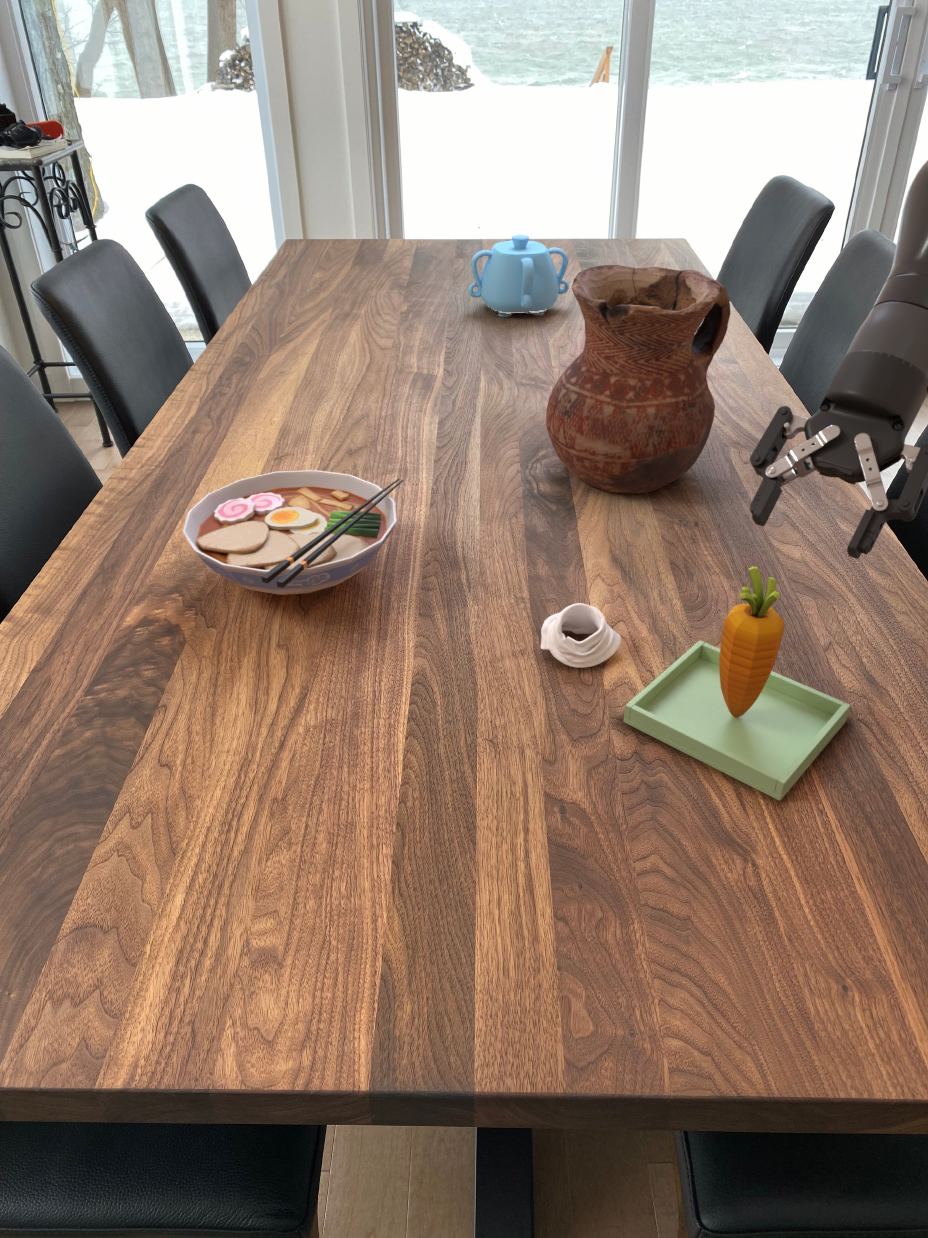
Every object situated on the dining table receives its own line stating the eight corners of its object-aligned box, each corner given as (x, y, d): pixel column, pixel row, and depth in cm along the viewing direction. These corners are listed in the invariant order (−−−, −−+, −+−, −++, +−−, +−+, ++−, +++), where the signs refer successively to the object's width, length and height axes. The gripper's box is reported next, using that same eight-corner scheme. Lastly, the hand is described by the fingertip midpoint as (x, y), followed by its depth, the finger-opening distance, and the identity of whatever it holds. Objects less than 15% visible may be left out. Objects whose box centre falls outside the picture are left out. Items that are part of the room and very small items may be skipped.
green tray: (846, 722, 88) (850, 704, 87) (779, 801, 80) (784, 783, 79) (696, 656, 96) (699, 639, 95) (623, 722, 88) (625, 705, 87)
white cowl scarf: (615, 639, 100) (623, 597, 98) (621, 674, 94) (629, 630, 92) (538, 631, 100) (543, 589, 98) (539, 666, 94) (545, 622, 92)
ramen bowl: (281, 505, 122) (274, 445, 118) (441, 548, 114) (440, 484, 109) (141, 602, 104) (126, 535, 99) (318, 662, 95) (311, 591, 91)
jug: (639, 526, 118) (663, 319, 104) (510, 473, 130) (516, 281, 116) (736, 468, 131) (769, 278, 117) (610, 425, 143) (626, 247, 129)
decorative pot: (577, 309, 190) (582, 235, 182) (522, 327, 180) (525, 251, 172) (514, 292, 199) (517, 222, 191) (459, 309, 189) (459, 235, 182)
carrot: (766, 737, 85) (799, 593, 77) (708, 731, 86) (735, 588, 78) (761, 702, 90) (792, 561, 81) (706, 696, 90) (731, 556, 82)
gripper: (801, 330, 84) (717, 496, 84) (972, 368, 77) (882, 550, 76) (815, 373, 91) (737, 527, 90) (974, 412, 83) (891, 581, 82)
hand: (803, 538), depth 83 cm, fingers open, 8 cm apart
